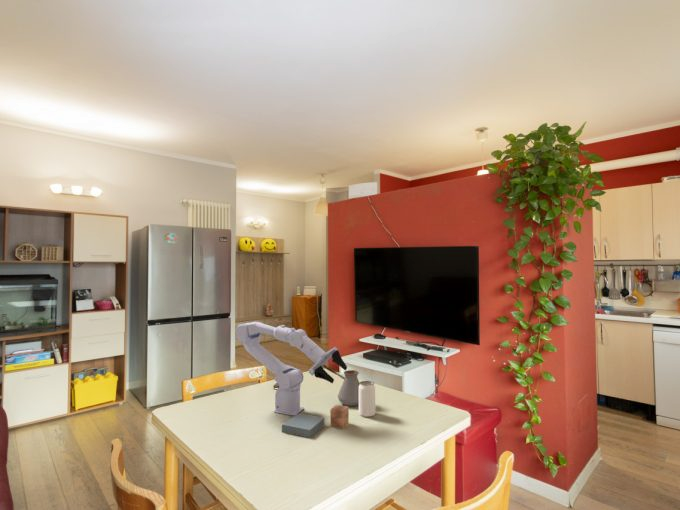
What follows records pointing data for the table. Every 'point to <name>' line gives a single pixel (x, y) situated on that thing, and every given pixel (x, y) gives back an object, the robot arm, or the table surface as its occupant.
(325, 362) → the robot arm
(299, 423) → the base
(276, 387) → the mineral rock
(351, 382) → the coffee pot
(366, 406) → the can
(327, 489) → the table surface
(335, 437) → the table surface
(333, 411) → the block
